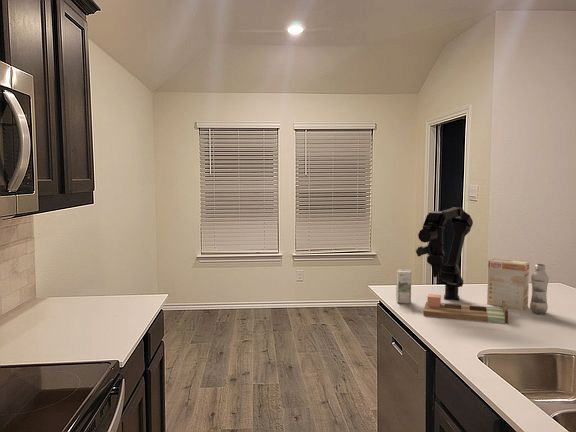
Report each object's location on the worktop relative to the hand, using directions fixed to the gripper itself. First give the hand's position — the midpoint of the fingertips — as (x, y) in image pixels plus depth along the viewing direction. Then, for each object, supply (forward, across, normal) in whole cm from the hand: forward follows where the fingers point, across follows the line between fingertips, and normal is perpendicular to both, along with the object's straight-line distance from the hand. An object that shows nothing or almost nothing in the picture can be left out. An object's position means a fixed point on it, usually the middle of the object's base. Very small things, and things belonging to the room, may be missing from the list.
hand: (435, 275), depth 205 cm
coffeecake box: (+13, -9, +30) cm, 34 cm away
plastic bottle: (+13, -1, +40) cm, 43 cm away
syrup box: (+13, 0, -14) cm, 19 cm away
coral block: (+11, +8, 0) cm, 13 cm away
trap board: (+13, +11, +12) cm, 21 cm away
